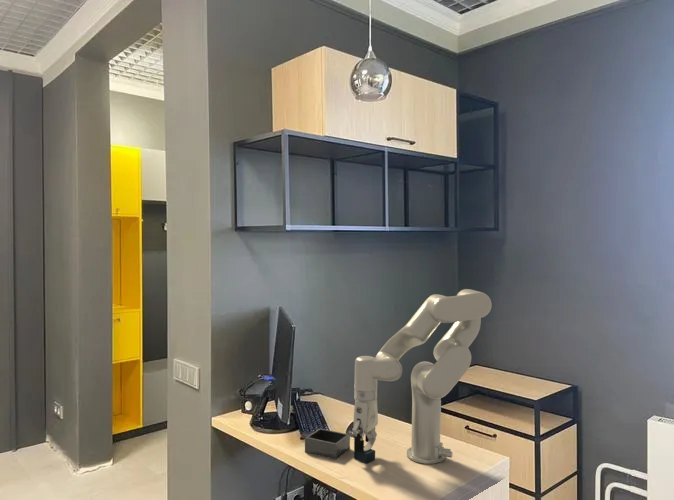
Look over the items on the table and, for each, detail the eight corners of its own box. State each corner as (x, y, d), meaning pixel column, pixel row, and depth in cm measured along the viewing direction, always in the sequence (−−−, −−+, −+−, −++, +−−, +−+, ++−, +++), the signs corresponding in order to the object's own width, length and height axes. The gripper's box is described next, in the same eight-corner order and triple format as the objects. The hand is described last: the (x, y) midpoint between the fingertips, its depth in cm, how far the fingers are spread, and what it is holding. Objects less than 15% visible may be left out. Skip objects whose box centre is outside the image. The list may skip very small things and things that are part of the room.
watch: (379, 458, 171) (379, 425, 171) (362, 465, 165) (363, 431, 165) (366, 453, 175) (367, 421, 175) (350, 460, 169) (350, 426, 169)
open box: (349, 448, 178) (350, 434, 178) (336, 459, 169) (336, 444, 169) (319, 442, 184) (319, 428, 184) (304, 452, 175) (305, 437, 175)
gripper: (365, 403, 160) (364, 458, 161) (386, 389, 176) (385, 440, 176) (343, 399, 164) (342, 453, 164) (366, 386, 179) (365, 436, 180)
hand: (364, 446), depth 170 cm, fingers closed on watch, 8 cm apart
